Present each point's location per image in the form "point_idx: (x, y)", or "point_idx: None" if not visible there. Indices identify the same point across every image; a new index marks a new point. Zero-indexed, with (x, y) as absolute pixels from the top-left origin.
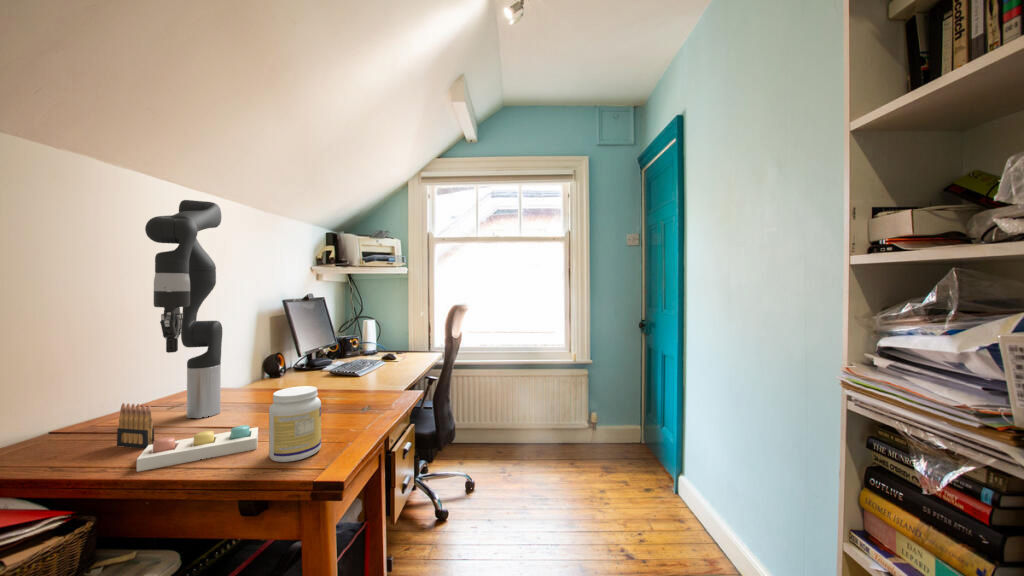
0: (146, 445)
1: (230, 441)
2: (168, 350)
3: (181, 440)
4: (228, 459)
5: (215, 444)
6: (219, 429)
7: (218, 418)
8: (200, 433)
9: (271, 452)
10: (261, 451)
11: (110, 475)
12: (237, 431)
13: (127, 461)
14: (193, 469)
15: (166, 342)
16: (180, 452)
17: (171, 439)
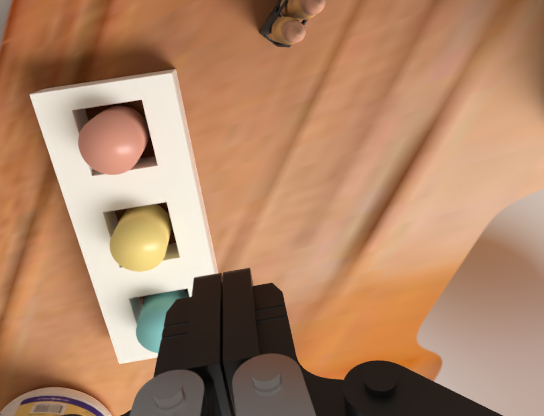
0: (261, 30)
1: (114, 306)
2: (174, 307)
3: (180, 164)
4: (68, 296)
5: (100, 275)
6: (367, 199)
7: (510, 159)
8: (145, 236)
9: (6, 411)
10: (103, 356)
11: (37, 20)
12: (136, 329)
13: (151, 18)
14: (19, 235)
15: (185, 343)
16: (65, 199)
17: (108, 167)
